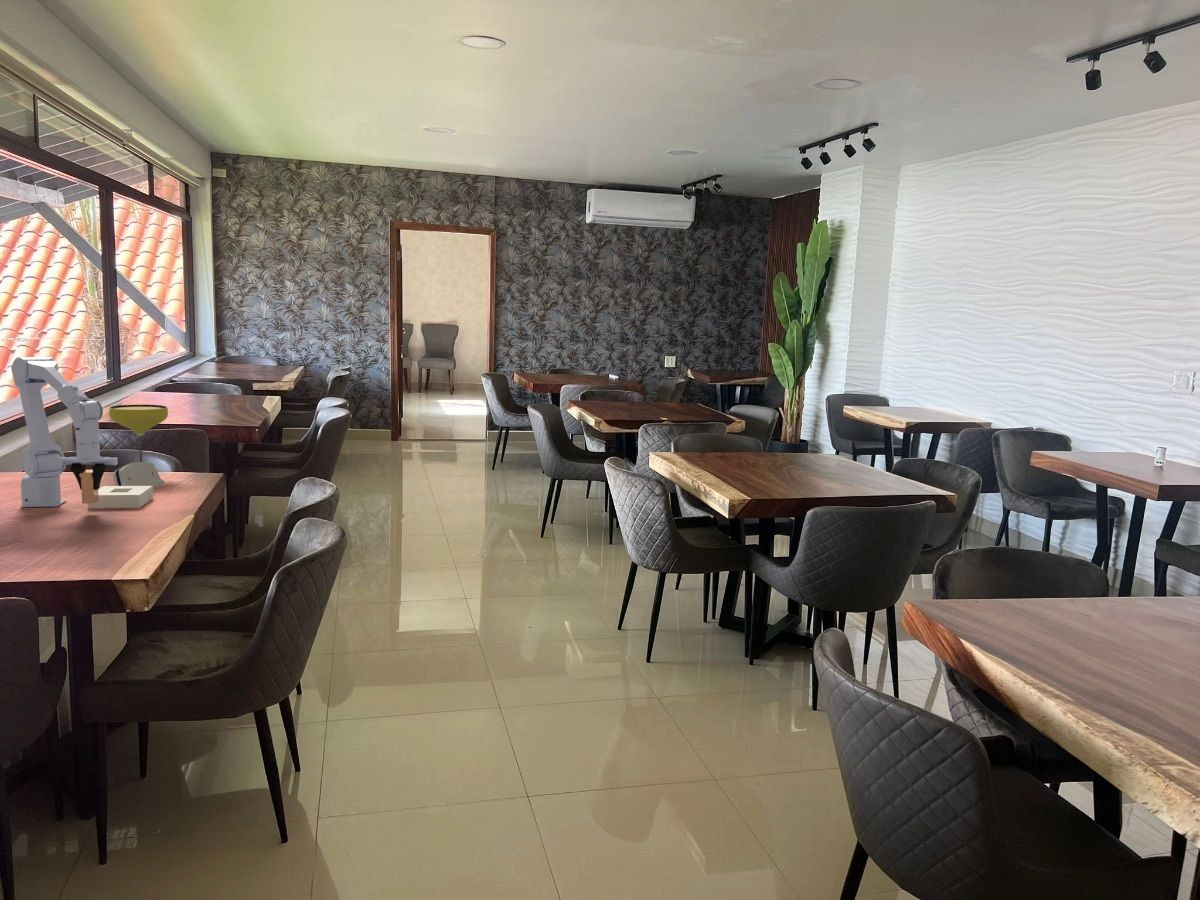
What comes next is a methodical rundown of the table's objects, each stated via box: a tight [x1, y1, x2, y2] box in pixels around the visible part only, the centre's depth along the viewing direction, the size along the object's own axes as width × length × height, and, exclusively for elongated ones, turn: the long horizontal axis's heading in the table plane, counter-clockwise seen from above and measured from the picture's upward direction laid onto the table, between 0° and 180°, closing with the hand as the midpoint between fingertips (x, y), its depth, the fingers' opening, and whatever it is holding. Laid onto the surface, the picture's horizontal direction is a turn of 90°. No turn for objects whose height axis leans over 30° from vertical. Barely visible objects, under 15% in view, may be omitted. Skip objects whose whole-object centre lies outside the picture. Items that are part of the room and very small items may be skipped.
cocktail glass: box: [109, 404, 169, 462], centre depth 296 cm, size 18×18×25 cm
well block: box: [87, 485, 154, 509], centre depth 257 cm, size 14×14×4 cm
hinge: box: [112, 461, 166, 489], centre depth 278 cm, size 17×5×10 cm, turn 169°
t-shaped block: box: [80, 469, 99, 505], centre depth 242 cm, size 3×6×9 cm, turn 14°
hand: (89, 489), depth 242 cm, fingers closed on t-shaped block, 3 cm apart
